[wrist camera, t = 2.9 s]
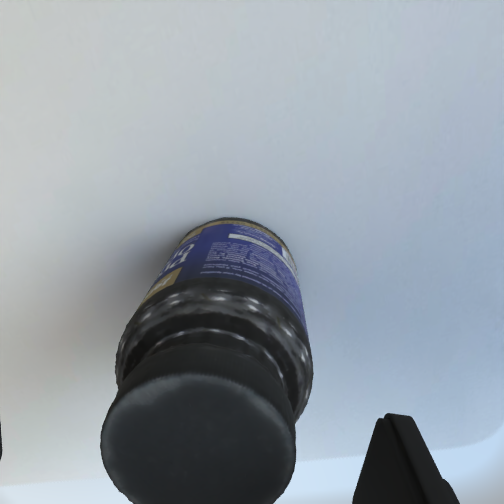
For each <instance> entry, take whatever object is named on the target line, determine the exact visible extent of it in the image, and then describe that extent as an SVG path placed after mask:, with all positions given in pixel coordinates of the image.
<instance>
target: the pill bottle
mask: <svg viewBox="0 0 504 504" xmlns="http://www.w3.org/2000/svg"><path fill="white" fill-rule="evenodd" d="M115 363H116V365H115V374H116V383H117V385H118V389H119V390H118V392H117V395H116V398H115V400H114V401H113V403H112V404H111V406H110V408H109V410H108V413H107V416H106V418H105V421H104V423H103V426H102V431H101V443H100V449H101V456H102V460H103V464H104V467H105V469H106V471H107V473H108V475H109V477H110V479H111V480H112V481H113V483H114V485H115V486H116V487H117V489H118V490H119V491H120V492H121V493H123V494H124V495H125V496H126V497H127V498H128V500H129V501H131V502H132V503H133V504H273V503H274V502H275V501H276V500H277V499H278V498H279V497H280V495H282V494H283V493H284V491H285V489H286V488H287V486H288V484H289V482H290V480H291V478H292V474H293V472H294V468H295V462H296V444H295V441H296V431H295V423H296V422H297V420H298V419H299V417H300V415H301V414H302V413H303V411H304V408H305V406H306V405H307V402H308V399H309V396H310V393H311V389H312V380H313V374H314V373H313V362H312V355H311V349H310V344H309V338H308V332H307V327H306V321H305V315H304V309H303V303H302V298H301V292H300V286H299V281H298V275H297V270H296V265H295V263H294V260H293V258H292V256H291V254H290V252H289V250H288V248H287V246H286V245H285V243H284V242H283V241H282V240H281V239H280V238H279V237H278V236H277V235H276V234H275V233H273V232H272V231H270V230H269V229H268V228H266V227H264V226H263V225H261V224H259V223H256V222H253V221H250V220H247V219H242V218H221V219H217V220H214V221H210V222H208V223H206V224H204V225H201V226H199V227H196V228H195V229H193V230H192V231H190V232H189V233H188V234H187V235H186V236H185V237H184V238H183V240H182V241H181V242H180V243H179V245H178V246H177V248H176V250H175V251H174V253H173V254H172V256H171V257H170V259H169V260H168V262H167V263H166V265H165V267H164V268H163V270H162V271H161V273H160V274H159V276H158V278H157V279H156V280H155V282H154V284H153V285H152V287H151V288H150V290H149V292H148V293H147V295H146V297H145V298H144V300H143V301H142V303H141V304H140V306H139V308H138V309H137V311H136V312H135V314H134V315H133V317H132V318H131V320H130V321H129V323H128V324H127V325H126V329H125V331H124V333H123V335H122V337H121V340H120V342H119V346H118V351H117V353H116V362H115Z"/></svg>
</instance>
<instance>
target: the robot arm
mask: <svg viewBox="0 0 504 504" xmlns="http://www.w3.org/2000/svg"><path fill="white" fill-rule="evenodd" d="M1 456H2V438H1V424H0V460H1ZM352 504H460V503H459V501H458V499H457V497H456V495H455V493H454V491H453V489H452V487H451V486H450V484H449V483H448V482H447V481H446V480H445V479H442V477H441V475H440V473H439V470H438V468H437V466H436V464H435V463H434V460H433V458H432V456H431V454H430V452H429V450H428V448H427V446H426V444H425V442H424V440H423V438H422V436H421V434H420V431H419V429H418V427H417V425H416V423H415V421H414V420H413V418H412V417H411V416H406V415H399V414H391V413H387V414H386V415H385V416H384V419H383V418H379V419H378V420H377V422H376V425H375V428H374V431H373V435H372V438H371V441H370V444H369V447H368V451H367V454H366V457H365V461H364V464H363V467H362V470H361V473H360V476H359V480H358V483H357V486H356V489H355V492H354V496H353V502H352Z"/></svg>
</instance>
